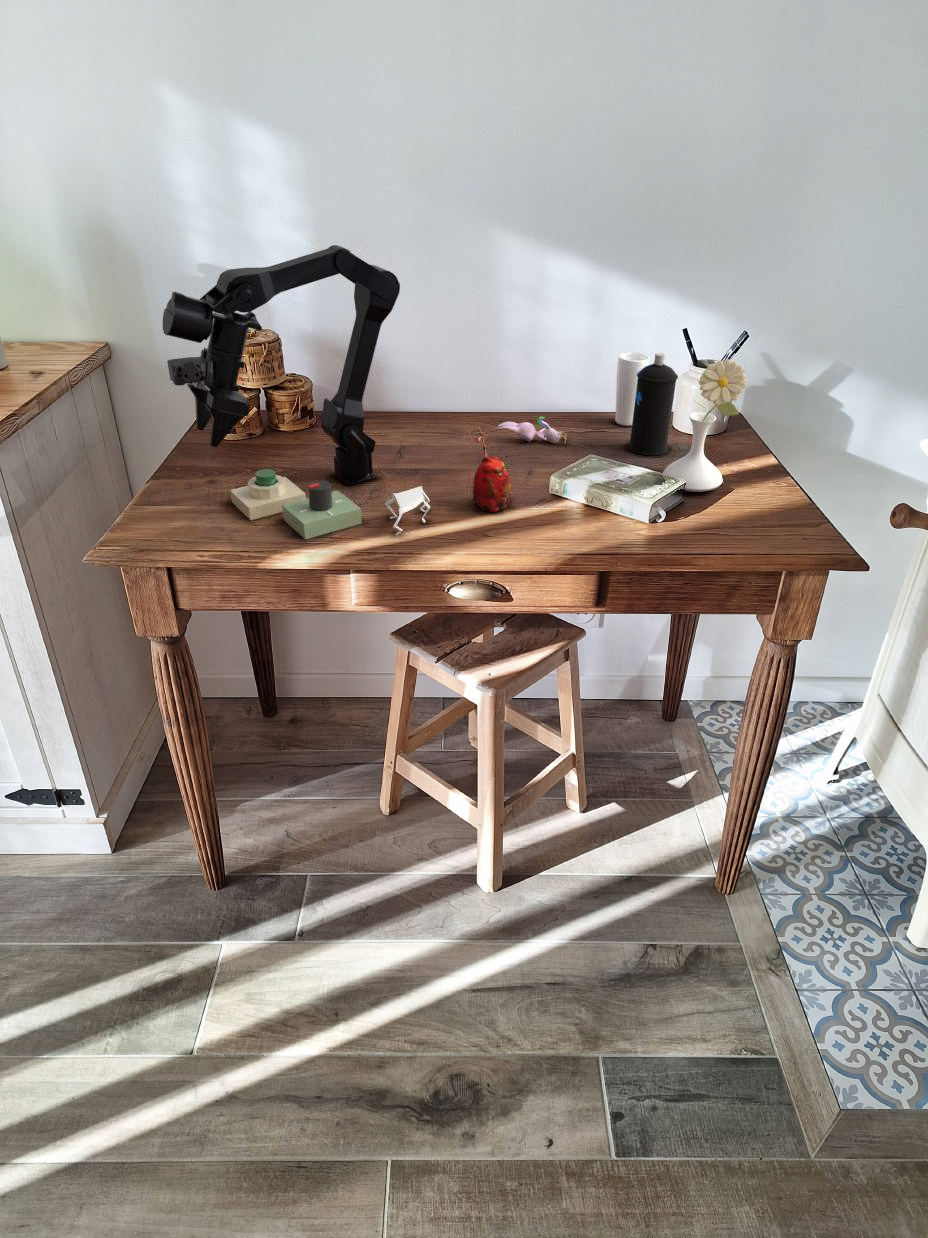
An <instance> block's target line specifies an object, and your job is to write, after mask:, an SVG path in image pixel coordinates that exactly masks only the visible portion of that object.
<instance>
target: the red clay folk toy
mask: <svg viewBox="0 0 928 1238" xmlns="http://www.w3.org/2000/svg"><path fill="white" fill-rule="evenodd" d="M476 428H477V429H478V431H479V433H475V434H474V435H476V436H479V437H476V438H475V442H476V443H477V444H480V442H481V440H482V450H483V452H484V457H483V458H482V460H481V463H480V464H479V466H478V467H477V469H476V470H475V472H474V473H475V474H474V478H473V486H472V494H473V495H472V498H473V502H475V504H476V506H478V508H480V509H481V510H482V511H488V512H490V513H497V512H500V511H501V510H505V509H506V508H507V507H508V506H507V505H509V504H510V503H511V500H510V498H511V496H512V485H511V481H510V476H509V475H510V474H509V472H508V471H507V469H506V468H505V466H506V465H505V463H504V462H503V461H501V460H500V458H499V457H497V456H492V457H489V456H488V453H487V450H486V449H487V447H488V446H487V444H485V440H484V434H486V433H487V432H488V429H487V430H485V431H484V432H483V431H482V429H481V428H480V427H479V426H477V427H476Z"/></svg>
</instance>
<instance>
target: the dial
mask: <svg viewBox="0 0 928 1238" xmlns="http://www.w3.org/2000/svg"><path fill="white" fill-rule="evenodd" d="M331 492H332V483H330V482H329V481H327V480H315V481H311V482H309V483H308V484H307V494H308V498H309V505H310V508H311V509H312V510H314V511H325V510H329V509H330V508H332V506H333V504H332V493H331Z"/></svg>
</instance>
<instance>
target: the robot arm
mask: <svg viewBox="0 0 928 1238" xmlns="http://www.w3.org/2000/svg"><path fill="white" fill-rule="evenodd" d="M339 274H340V275H341V276H343V278H345V279H347V280H348V281H349V282H351V283H353V284H354V291H353V292H354V293H353V300H354V301H353V302H354V308H355V319H354V323H353V327H352V332H351V335H350V340H349V344H348V349H347V352H346V356H345V360H344V364H343V369H342V373H341V376H340V381H339V384H338V389H337V392H336V393H335V394H334V396H333V397H332V398H331V399H330V398H327V397H325V398H324V399H323V403H322V404H323V405H322V411H321V414H320V415H319V417H318V419H319V420H321V429H322V430H323V432H324V434H325V435H326V436H328V437H329V438H330V439H331V440H332V442H333V444H336V445H337V447H335V448H334V451H335V455H334V456H333V463H334V465H333V467H334V472H333V476H334V477H336V478H337V479H338V480H340V481H341V482H342V483H344V484H345V485H346V486H353V485H357V484H361V483H365V482H369V481H373V480H376V479H377V478H378V475H377V474H375V473H374V472H373V455H372V454H373V453H374V451H375V447H376V443H377V442H376V441H375V440H374V439H373V438H372V437H370V436H369V435H368V434H367V433H365V432H364V426H365V425H364V424H365V411H364V405H363V399H364V395H365V391H366V387H367V382H368V378H369V375H370V371H371V368H372V363H373V359H374V355H375V352H376V347H377V343H378V339H379V336H380V331H381V327H382V324H383V323H384V321H385V320H386V319H387V318H388V316H389V315H390V314H391V312H392V311H393V309H394V307H395V305H396V303H397V300H398V297H399V295H400V293H401V292H400V291H401V283H400V282H399V279H398V277H397V275H396V274H394V272H392V271H389V270H388V269H385V268H382V267H381V266H378V265H375V264H370V263H368V262H366V261H364V260H363V259H362V258H360V257H358V256H357V255H355V254H354V253H353V252H352V251H351V250H350V249H347V248H345V247H344V246H341V245H337V244H332V245H330V246H329V247H326V248H325V249H322V250H321V249H320V250H319V251H315V252H312V253H309V254H305V255H302V256H298V257H296V258H291V259H289V260H285V261H282V262H280V263H276V264H273V265H270V266H263V267H240V268H230V269H227V270H224V271H222V272H221V273H220V274H219V277H218V278H217V281H216V284H215V285H214V286H213V287H212V288H211V289H209V290H208V291H207V292H205V294H203V295H202V296H201V297H200V298H199V299H198V298H195V297H191V296H188V295H185V294H183V293H181V292H178V291H172V294H171V297H170V298H169V300H168V302H167V304H166V307H165V308H164V309H163V314H162V332H163V334H164V335H165V336H170V337H172V338H178V339H182V340H186V341H190V342H194V343H198V344H201V343H202V342H203V341H208V344H207V347H203V349H201V353H200V356H188V357H180V358H172V359H168V360H167V362H166V363H167V369H168V374H169V381H172V383H173V385H174V386H178V387H179V386H185V385H186V386H187V388H188V389H189V390H190V392H191V393H192V394H193V396H194V403H195V404H194V405H195V417H196V418H195V421H196V423H195V424H196V430H198V431H204V430H205V428H206V427H207V425H208V424H209V422H210V420H211V425H210V446H211V447H213V448H217V447H219V446H220V444H221V443H222V442H223V440H224V439H225V438H226V437H227V436H228V434H229V433H230V432H231V431H232V430H233V429H234V428H235V426H237V424H238V423H239V422H240V421H241V420H243V419H244V418H245V417H248V416H249V413H250V408H251V404H250V402H249V400H248V398H246V397H245V396H244V395H243V394H242V393H241V392H239V391H240V387H241V386H240V385H239V384H238V378H239V373H240V369H245V366H246V365H245V364H246V362H245V361H244V360H243V356H244V352H245V347H246V343H247V339H248V338H247V337H248V334H249V330H250V329H253V330H256V331H262V330H263V326H262V325H261V324H260V323H259V321H258V319H257V315H256V313H254V312H253V311H254V310H256V309H259V308H260V307H262V306H264V305H265V304H267V303H269V301H271V300H272V299H273V298H274V297H275V296H277V295H279V294H281V293H284V292H287V291H289V290H292V289H296V288H299V287H303V286H305V285H308V284H311V283H314V282H318V281H321V280H324V279H327V278H330V277H334V276H337V275H339ZM208 339H209V340H208Z"/></svg>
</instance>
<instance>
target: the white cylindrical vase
mask: <svg viewBox="0 0 928 1238" xmlns="http://www.w3.org/2000/svg"><path fill="white" fill-rule="evenodd" d="M648 365H650V357H649V355H647V354H645V353H641V352H624V353H620V354H619V355H618V359H617V366H616V367H617V368H616V379H615V384H616V386H615V412H614V413H615V415H614V421H615V423H616V424H617V425H620V426H624V427H632V422H633V414H634V405H635V397H636V389H637V380H638V377H637V373H638V372H639V371H641V369H643V368H644V367H645V366H648Z"/></svg>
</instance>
